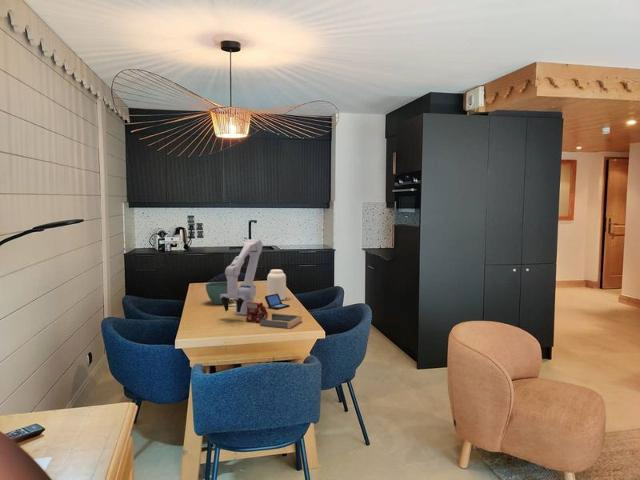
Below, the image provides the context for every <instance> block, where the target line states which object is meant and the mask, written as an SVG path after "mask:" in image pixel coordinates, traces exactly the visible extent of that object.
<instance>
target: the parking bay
mask: <svg viewBox="0 0 640 480" xmlns="http://www.w3.org/2000/svg"><path fill="white" fill-rule="evenodd" d="M301 322H303V316H302V315H296V314H295V315H294V314H285V313H283V314H282V313H271V319H266V320H264V319H261V320H260V323H259V326H263V327H271V328H281V329H282V328H283V329H292V328H293V327H295V326H298V325H299V324H300V323H301Z"/></svg>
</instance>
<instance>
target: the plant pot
mask: <svg viewBox="0 0 640 480" xmlns="http://www.w3.org/2000/svg"><path fill="white" fill-rule="evenodd" d="M205 291H206V294H207V296H208V298H209V299H210V301H211V302H212V303H213V304H215V305H223V303H222V301H221V299H222V298H220V295H221V294H227V281H213V282H208V283H206V284H205ZM230 299H231V298H229V300H230Z"/></svg>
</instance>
